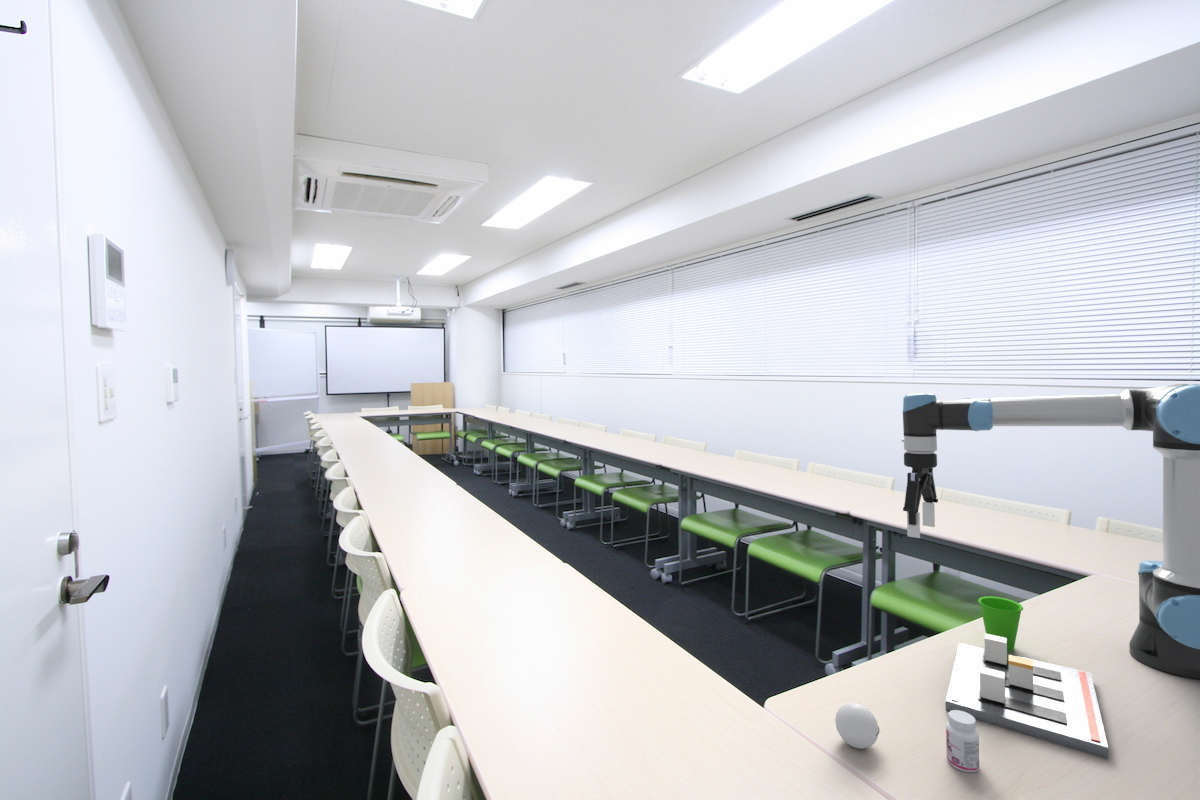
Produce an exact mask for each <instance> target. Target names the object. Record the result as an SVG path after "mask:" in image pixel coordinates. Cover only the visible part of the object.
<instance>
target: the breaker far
mask: <svg viewBox="0 0 1200 800" xmlns="http://www.w3.org/2000/svg"><path fill="white" fill-rule="evenodd" d="M984 633H985V634H984V648H985V660H988V661H992V662H996V663H1001V664H1005V665H1007V654H1008V652H1007V638H1005V637H1000V636H995V635H991V634H986V632H984Z"/></svg>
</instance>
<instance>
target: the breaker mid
mask: <svg viewBox="0 0 1200 800" xmlns="http://www.w3.org/2000/svg"><path fill="white" fill-rule="evenodd" d="M1012 655H1013V654H1011V655H1009V660H1008V662H1009V684H1011V685H1015V686H1019V687H1023V688H1027V689H1031V690H1033V660H1034V659H1033V660H1030V659H1031V658H1028V659H1026V658H1027V657H1024V658H1021V657H1022V656H1020V657H1017V656H1018V655H1015V656H1012Z"/></svg>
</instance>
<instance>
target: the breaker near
mask: <svg viewBox="0 0 1200 800" xmlns="http://www.w3.org/2000/svg"><path fill="white" fill-rule="evenodd" d="M980 697H983V698H986V699H990V700H994V701H997V702H1001V703H1005V672H1002V671H998V670H994V669H990V668H986V667H982V666H981V667H980Z"/></svg>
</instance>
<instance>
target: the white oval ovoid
mask: <svg viewBox="0 0 1200 800" xmlns="http://www.w3.org/2000/svg"><path fill="white" fill-rule="evenodd" d="M834 718H835V719H834V720H835V728H836V731H837V732H838V734H839V737H840V738H841V739H842V740H843V741H844V742H845V743H846V744H848V746H851V747H852V748H855V749H863V750H864V749H868V748H870V747H872V746H873V745H874V744H875V743H876V742H877V740H878V738H879V734H880V732H881V731H880V728H879V724H878V721H877V719H876V717H875V715H874V713H872V711H871V710H869V708H867V707H866V706H865V705H863V704H860V703H857V702H847V703H845V704H843V705H841V706H840V707H839V708H838V709H837V711H836V713H835V717H834Z"/></svg>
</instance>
